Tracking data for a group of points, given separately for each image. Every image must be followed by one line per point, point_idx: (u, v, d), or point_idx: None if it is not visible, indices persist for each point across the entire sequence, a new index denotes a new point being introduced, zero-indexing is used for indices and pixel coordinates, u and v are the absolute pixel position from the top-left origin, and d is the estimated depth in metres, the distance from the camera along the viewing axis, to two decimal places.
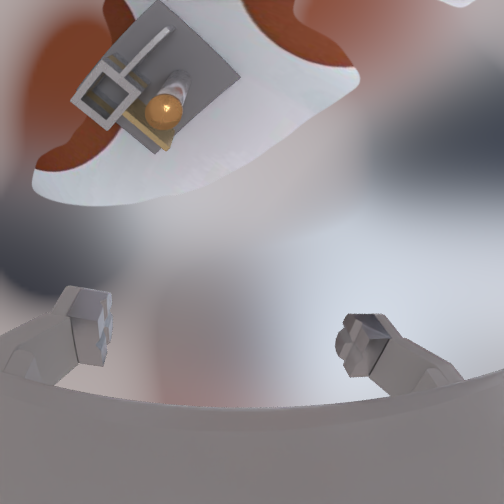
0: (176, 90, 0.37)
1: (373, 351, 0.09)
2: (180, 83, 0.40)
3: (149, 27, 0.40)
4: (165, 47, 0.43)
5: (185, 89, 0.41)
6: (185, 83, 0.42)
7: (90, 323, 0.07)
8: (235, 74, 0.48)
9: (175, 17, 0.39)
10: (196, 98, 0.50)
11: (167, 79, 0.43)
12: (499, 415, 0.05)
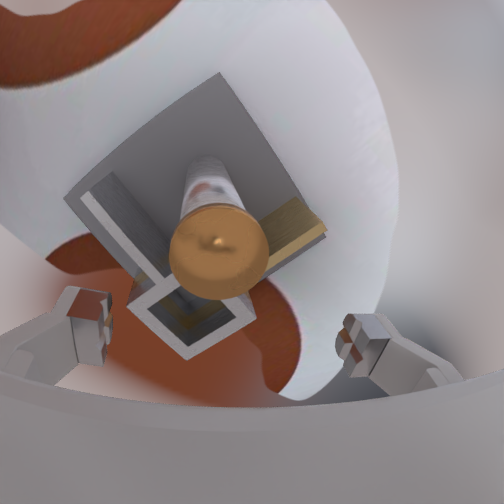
0: (188, 200, 0.18)
1: (373, 351, 0.09)
2: (190, 182, 0.22)
3: None
4: (141, 190, 0.31)
5: (205, 174, 0.22)
6: (198, 170, 0.24)
7: (90, 323, 0.07)
8: (211, 80, 0.27)
9: (93, 172, 0.29)
10: (245, 149, 0.31)
11: None
12: (499, 415, 0.05)
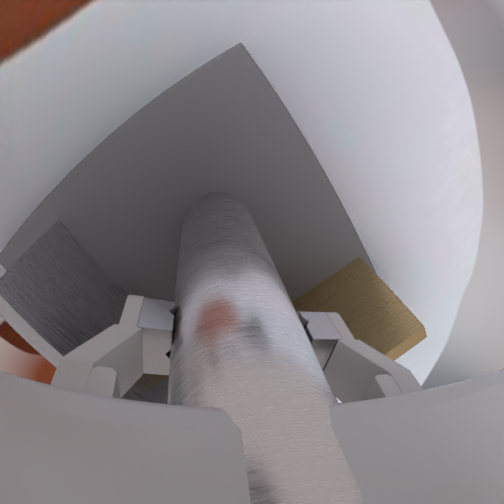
0: None
1: (320, 353, 0.09)
2: (186, 298, 0.09)
3: None
4: (108, 252, 0.18)
5: (223, 279, 0.09)
6: (205, 250, 0.11)
7: (163, 333, 0.08)
8: (226, 55, 0.14)
9: (32, 220, 0.16)
10: (285, 182, 0.18)
11: None
12: (499, 415, 0.05)
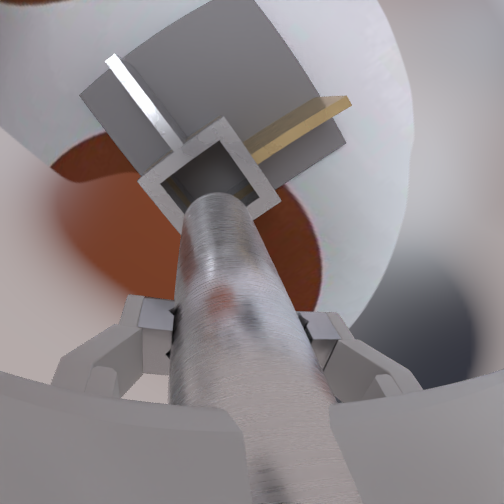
0: None
1: (320, 353, 0.09)
2: (186, 299, 0.09)
3: (121, 108, 0.28)
4: (161, 84, 0.28)
5: (223, 280, 0.09)
6: (205, 251, 0.11)
7: (163, 333, 0.08)
8: None
9: None
10: (265, 49, 0.28)
11: None
12: (499, 415, 0.05)
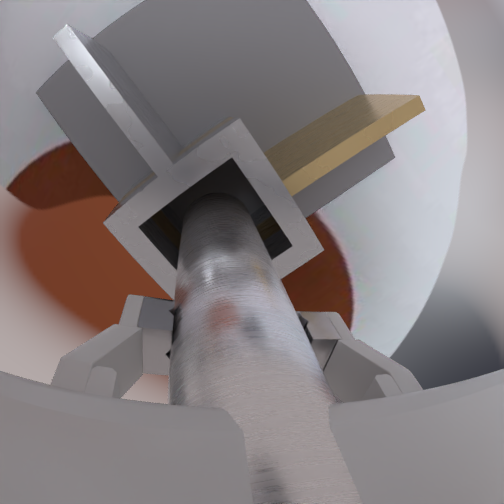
0: None
1: (320, 353, 0.09)
2: (186, 299, 0.09)
3: (90, 107, 0.19)
4: (145, 72, 0.19)
5: (223, 280, 0.09)
6: (204, 251, 0.11)
7: (164, 333, 0.08)
8: None
9: None
10: (293, 26, 0.19)
11: None
12: (499, 415, 0.05)
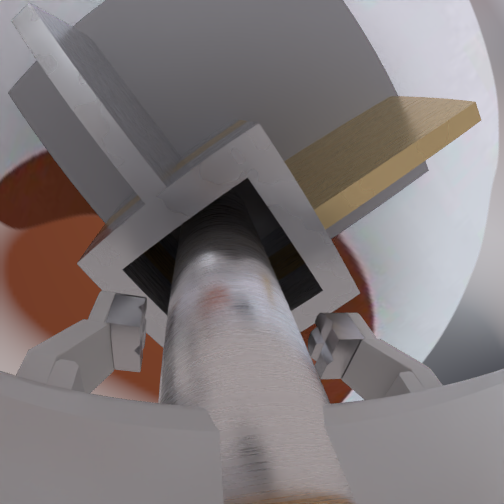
0: (173, 372, 0.06)
1: (344, 352, 0.09)
2: (182, 271, 0.10)
3: (69, 109, 0.15)
4: (135, 65, 0.15)
5: (215, 253, 0.10)
6: (201, 232, 0.12)
7: (131, 329, 0.08)
8: None
9: None
10: (315, 12, 0.15)
11: None
12: (499, 415, 0.05)
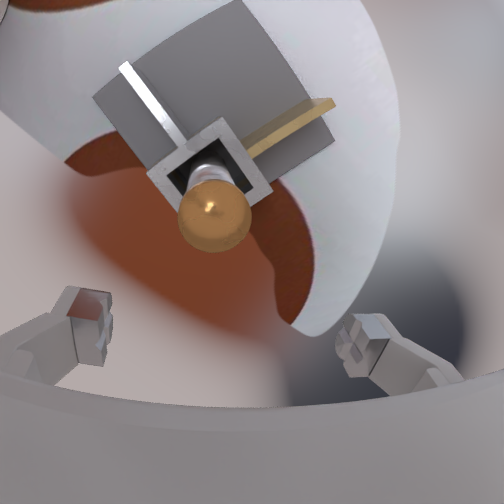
0: (192, 181, 0.23)
1: (373, 351, 0.09)
2: (193, 170, 0.27)
3: (131, 109, 0.32)
4: (167, 88, 0.31)
5: (206, 163, 0.27)
6: (200, 161, 0.29)
7: (90, 323, 0.07)
8: (232, 2, 0.28)
9: None
10: (260, 56, 0.31)
11: None
12: (499, 415, 0.05)
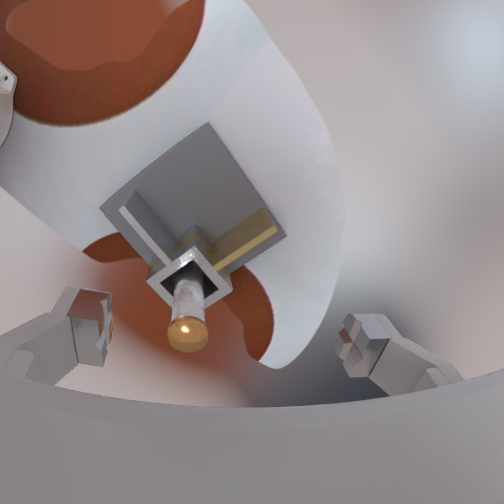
0: (175, 303, 0.37)
1: (373, 351, 0.09)
2: (177, 284, 0.41)
3: None
4: (155, 203, 0.46)
5: (185, 279, 0.41)
6: (182, 272, 0.43)
7: (90, 323, 0.07)
8: (202, 128, 0.42)
9: (122, 190, 0.44)
10: (226, 175, 0.46)
11: None
12: (499, 415, 0.05)
